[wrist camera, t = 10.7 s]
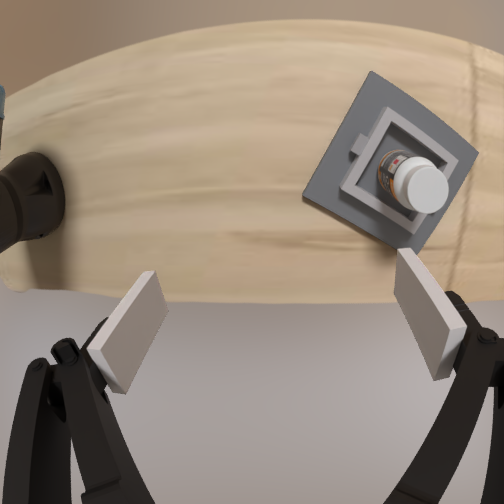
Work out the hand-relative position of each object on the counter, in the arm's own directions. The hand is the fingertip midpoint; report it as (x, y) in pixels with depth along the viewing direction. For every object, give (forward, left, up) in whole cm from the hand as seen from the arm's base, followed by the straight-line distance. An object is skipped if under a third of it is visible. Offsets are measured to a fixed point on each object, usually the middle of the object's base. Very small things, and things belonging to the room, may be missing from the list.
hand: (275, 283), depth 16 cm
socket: (+11, +9, -24) cm, 28 cm away
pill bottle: (+11, +9, -23) cm, 27 cm away
